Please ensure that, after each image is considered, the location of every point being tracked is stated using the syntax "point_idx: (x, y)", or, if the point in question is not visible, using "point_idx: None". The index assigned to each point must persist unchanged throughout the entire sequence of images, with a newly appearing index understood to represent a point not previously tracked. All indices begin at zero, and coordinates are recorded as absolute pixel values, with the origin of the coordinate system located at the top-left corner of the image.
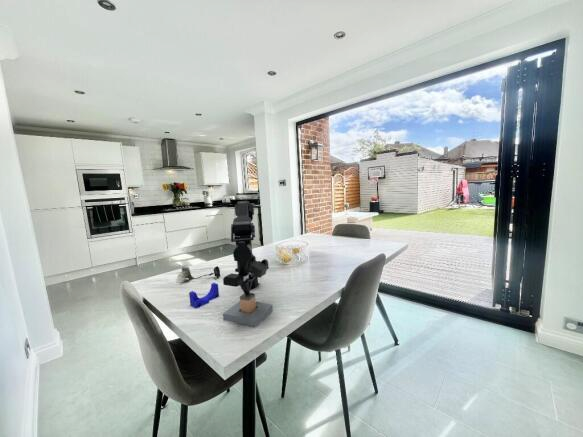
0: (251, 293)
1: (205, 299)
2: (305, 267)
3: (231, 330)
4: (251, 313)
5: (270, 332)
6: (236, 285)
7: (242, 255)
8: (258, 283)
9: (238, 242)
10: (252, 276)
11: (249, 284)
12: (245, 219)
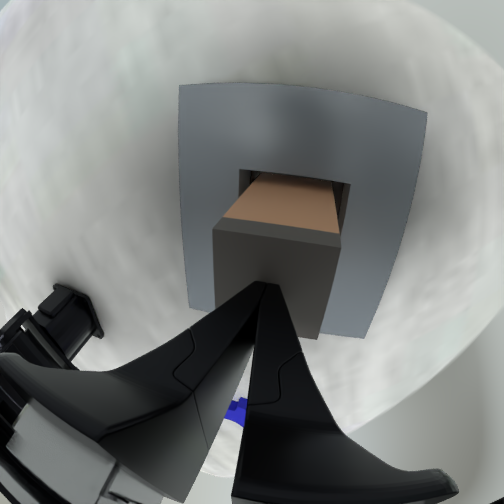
0: (220, 265)
1: (241, 413)
2: None
3: (446, 236)
4: (344, 175)
5: (422, 20)
6: None
7: None
8: (54, 288)
9: None
10: (96, 450)
11: (217, 365)
12: None
